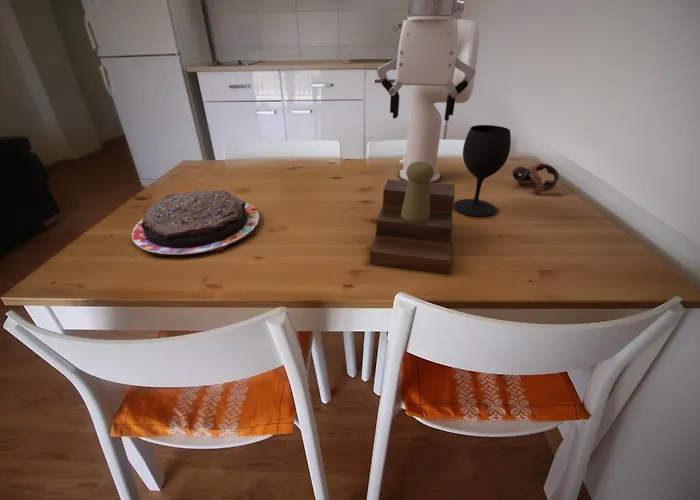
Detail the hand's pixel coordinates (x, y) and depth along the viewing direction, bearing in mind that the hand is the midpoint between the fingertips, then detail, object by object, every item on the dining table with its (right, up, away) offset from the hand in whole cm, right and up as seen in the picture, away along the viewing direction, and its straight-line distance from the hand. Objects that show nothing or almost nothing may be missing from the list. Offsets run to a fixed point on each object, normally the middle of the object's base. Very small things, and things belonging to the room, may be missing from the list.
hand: (420, 118), depth 68 cm
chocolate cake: (-49, -20, +16) cm, 55 cm away
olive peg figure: (0, -18, +6) cm, 19 cm away
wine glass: (+19, -15, +24) cm, 34 cm away
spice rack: (0, -23, +10) cm, 25 cm away
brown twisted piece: (+40, -7, +36) cm, 54 cm away
